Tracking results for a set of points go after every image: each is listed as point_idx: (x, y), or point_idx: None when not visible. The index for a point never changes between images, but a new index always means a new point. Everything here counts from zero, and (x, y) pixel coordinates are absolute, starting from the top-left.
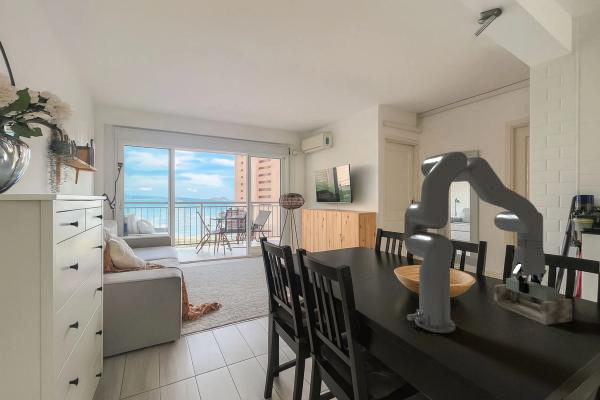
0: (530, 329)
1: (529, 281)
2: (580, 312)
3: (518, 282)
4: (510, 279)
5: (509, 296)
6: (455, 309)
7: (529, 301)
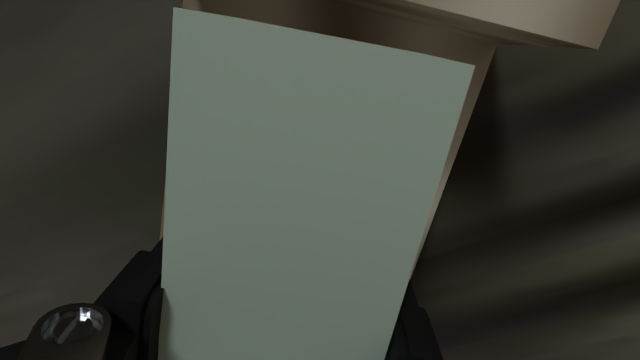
0: (23, 299)
1: (384, 321)
2: (597, 331)
3: (164, 254)
4: (187, 104)
5: (357, 5)
6: None
7: (463, 132)
